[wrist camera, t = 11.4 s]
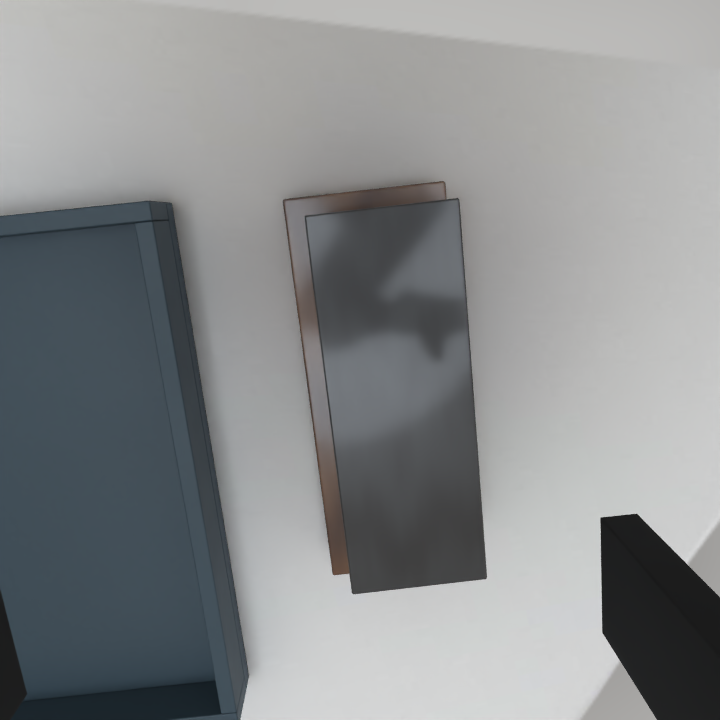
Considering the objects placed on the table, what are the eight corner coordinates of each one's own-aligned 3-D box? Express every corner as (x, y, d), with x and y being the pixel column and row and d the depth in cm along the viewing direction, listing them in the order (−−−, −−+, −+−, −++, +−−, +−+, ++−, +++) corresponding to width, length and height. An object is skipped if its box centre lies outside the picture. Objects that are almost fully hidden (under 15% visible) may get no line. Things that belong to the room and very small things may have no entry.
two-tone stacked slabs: (436, 183, 29) (287, 200, 29) (458, 176, 24) (275, 197, 24) (465, 534, 33) (333, 550, 33) (488, 595, 28) (331, 613, 28)
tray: (-251, 246, 29) (-330, 250, 26) (172, 202, 29) (149, 200, 26) (-105, 714, 35) (-153, 768, 31) (249, 676, 35) (239, 726, 32)
